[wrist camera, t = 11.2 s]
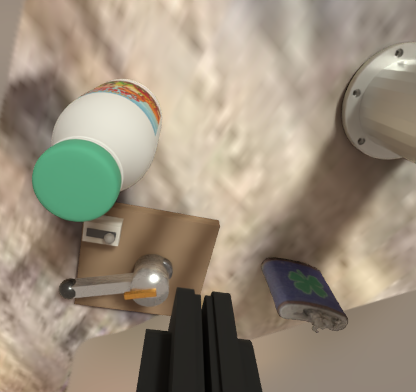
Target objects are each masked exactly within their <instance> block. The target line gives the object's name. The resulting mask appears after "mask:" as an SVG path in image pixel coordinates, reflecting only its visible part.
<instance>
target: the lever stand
mask: <svg viewBox="0 0 416 392" xmlns="http://www.w3.org/2000/svg"><path fill="white" fill-rule="evenodd" d="M219 228H220V225H219V221H218V220H213V219H207V218H202V217H196V216H190V215H185V214H179V213H173V212H168V211H162V210H157V209H151V208H145V207H140V206H134V205H128V204H123V203H117V202H115V203H114V205H113V206H112V208H111V209H110V210H109V211H108V212H106V213H105V214H104V215H102V216H101V217H99V218H97V219H94V220H91V221H85V222H83V228H82V237H81V246H80V256H79V265H78V274H77V278H86V277H96V276H107V275H117V274H127V273H134V268H135V264H136V262H137V260H138V259H139V258H141V257H142V256H144V255H148V254H156V255H160V256H162V257H163V258H166V259H168V260H169V261H170V262H171V263H172V266H173V274H172V277H171V278H170V279H169V294H168V297H167V299H166V300H165V301H164V302H163V303H161V304H159V305H157V306H153V307H146V306H142V305H139V304H138V303H136V302H135V301H134V300H133V299H127V300H125V298H124V293H120V294H110V295H100V296H90V297H80V298H75V302H74V304H80V305H88V306H96V307H103V308H111V309H119V310H127V311H135V312H143V313H151V314H159V315H167V316H171V314H172V309H173V303H174V298H175V293H176V289H177V287H181V288H189V289H194V290H195V294H199V295H200V293H201V290H202V286H203V283H204V279H205V276H206V273H207V269H208V266H209V262H210V259H211V255H212V252H213V248H214V245H215V242H216V238H217V235H218V231H219Z"/></svg>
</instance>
